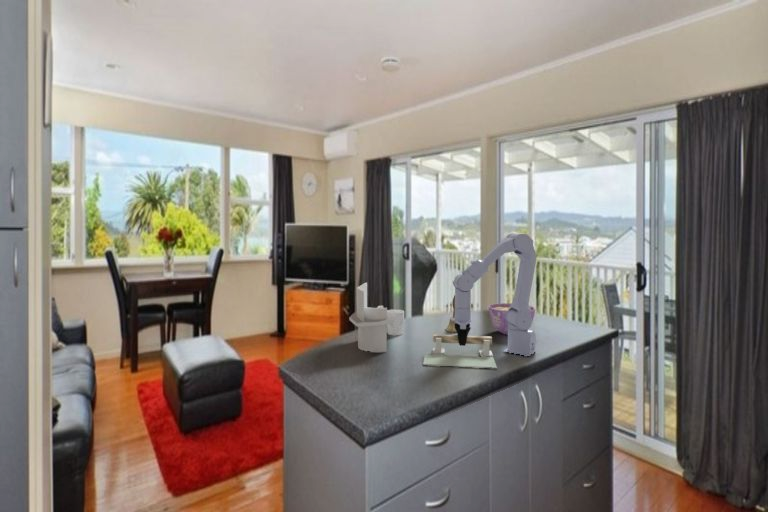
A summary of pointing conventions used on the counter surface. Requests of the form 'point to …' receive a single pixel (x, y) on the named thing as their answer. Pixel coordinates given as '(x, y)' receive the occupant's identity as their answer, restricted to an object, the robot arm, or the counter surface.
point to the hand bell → (451, 323)
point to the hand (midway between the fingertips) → (462, 344)
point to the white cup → (396, 322)
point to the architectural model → (370, 323)
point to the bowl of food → (503, 316)
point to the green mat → (458, 361)
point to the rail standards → (483, 352)
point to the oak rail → (469, 340)
